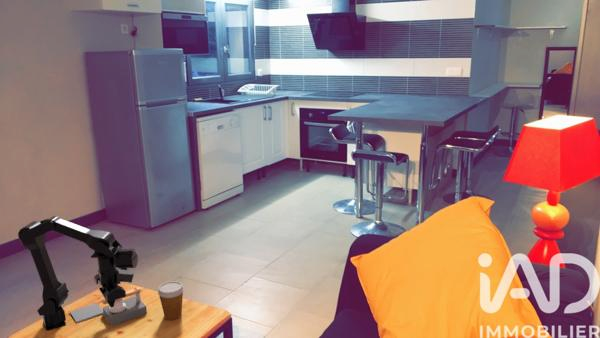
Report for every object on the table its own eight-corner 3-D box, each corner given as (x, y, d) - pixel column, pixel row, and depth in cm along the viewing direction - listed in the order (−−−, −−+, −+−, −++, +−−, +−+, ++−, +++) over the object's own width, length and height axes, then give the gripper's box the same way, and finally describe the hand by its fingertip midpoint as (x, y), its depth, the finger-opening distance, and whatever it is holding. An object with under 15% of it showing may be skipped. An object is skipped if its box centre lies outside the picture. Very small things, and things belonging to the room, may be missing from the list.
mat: (76, 323, 172) (76, 321, 172) (70, 312, 179) (69, 311, 179) (104, 313, 178) (104, 312, 178) (97, 303, 185) (96, 302, 185)
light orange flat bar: (103, 304, 170) (103, 301, 170) (101, 302, 172) (101, 299, 172) (142, 292, 179) (141, 289, 179) (139, 289, 181) (139, 286, 181)
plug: (113, 322, 172) (111, 305, 170) (107, 315, 177) (105, 299, 175) (129, 316, 176) (127, 300, 174) (123, 310, 180) (121, 293, 179)
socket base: (112, 325, 170) (110, 308, 168) (103, 314, 178) (101, 297, 176) (146, 313, 178) (145, 296, 176) (137, 302, 186) (135, 286, 184)
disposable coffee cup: (158, 312, 179) (155, 283, 176) (183, 306, 183) (180, 278, 180) (162, 324, 170) (159, 295, 167) (188, 318, 174) (186, 289, 171)
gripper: (138, 270, 163) (142, 310, 167) (122, 253, 178) (126, 289, 182) (105, 280, 157) (110, 321, 161) (91, 260, 171) (96, 298, 175)
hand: (112, 306), depth 170 cm, fingers closed
